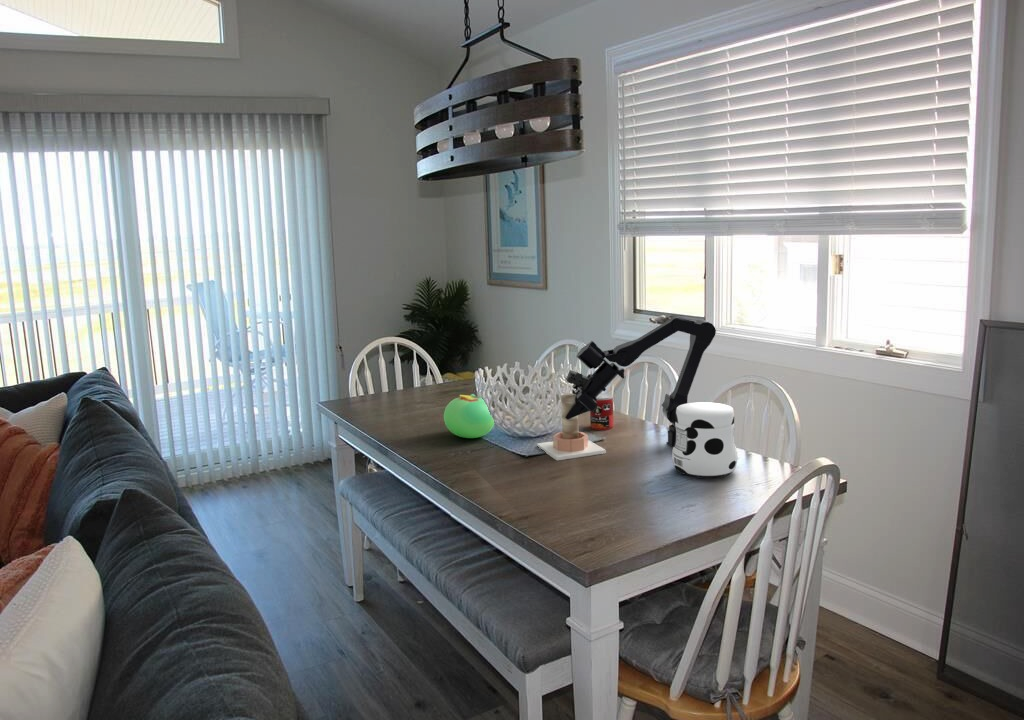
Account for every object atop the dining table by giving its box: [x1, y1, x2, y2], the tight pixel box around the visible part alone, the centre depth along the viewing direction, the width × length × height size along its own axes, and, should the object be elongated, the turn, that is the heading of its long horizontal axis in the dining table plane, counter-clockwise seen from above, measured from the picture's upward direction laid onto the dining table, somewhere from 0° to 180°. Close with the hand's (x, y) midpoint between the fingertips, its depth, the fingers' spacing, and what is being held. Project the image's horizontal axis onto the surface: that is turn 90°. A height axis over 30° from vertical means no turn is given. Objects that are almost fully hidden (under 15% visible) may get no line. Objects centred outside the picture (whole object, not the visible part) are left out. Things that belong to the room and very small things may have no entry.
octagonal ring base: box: [536, 431, 607, 461], centre depth 237 cm, size 16×16×4 cm
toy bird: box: [443, 393, 496, 439], centre depth 255 cm, size 18×17×15 cm
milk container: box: [671, 401, 738, 479], centre depth 210 cm, size 17×17×18 cm
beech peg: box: [560, 393, 580, 439], centre depth 235 cm, size 5×5×13 cm
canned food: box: [589, 392, 614, 431], centre depth 260 cm, size 8×8×11 cm
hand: (565, 416), depth 235 cm, fingers closed on beech peg, 5 cm apart
